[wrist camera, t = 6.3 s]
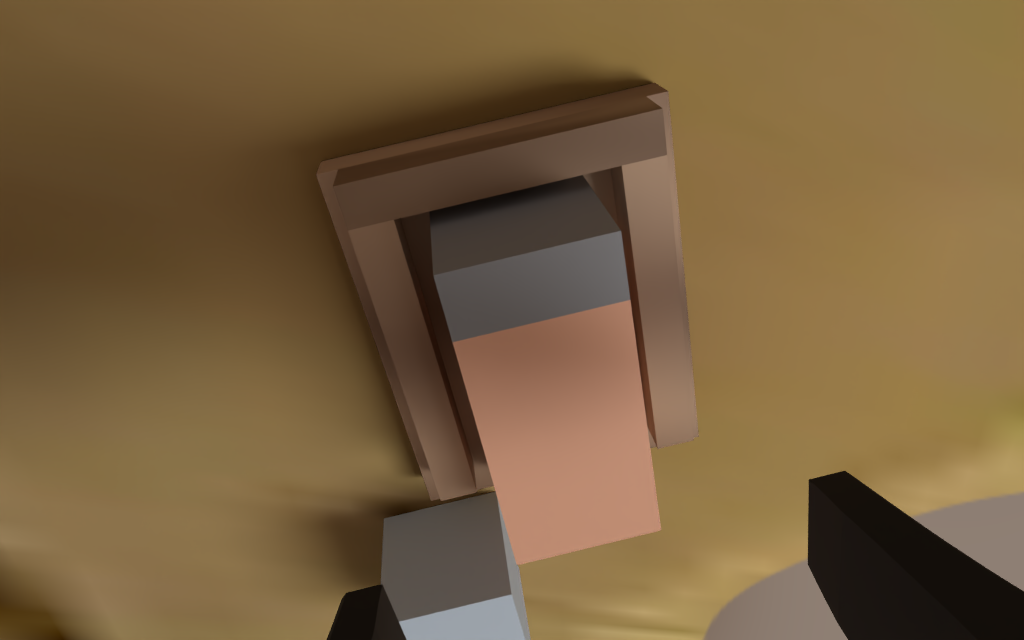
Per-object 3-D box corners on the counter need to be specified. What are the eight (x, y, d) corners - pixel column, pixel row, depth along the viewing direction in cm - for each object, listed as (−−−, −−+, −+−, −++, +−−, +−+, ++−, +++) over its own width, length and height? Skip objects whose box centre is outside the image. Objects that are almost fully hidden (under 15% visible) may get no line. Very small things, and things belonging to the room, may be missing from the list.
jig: (686, 415, 22) (713, 463, 20) (430, 477, 21) (432, 531, 20) (654, 82, 17) (686, 102, 15) (321, 161, 16) (309, 192, 15)
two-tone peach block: (622, 437, 20) (661, 530, 17) (500, 467, 20) (516, 564, 17) (580, 172, 16) (621, 230, 13) (429, 208, 16) (433, 275, 13)
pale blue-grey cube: (518, 567, 24) (536, 676, 20) (414, 592, 24) (415, 705, 20) (496, 489, 22) (511, 593, 19) (384, 517, 22) (378, 626, 19)
